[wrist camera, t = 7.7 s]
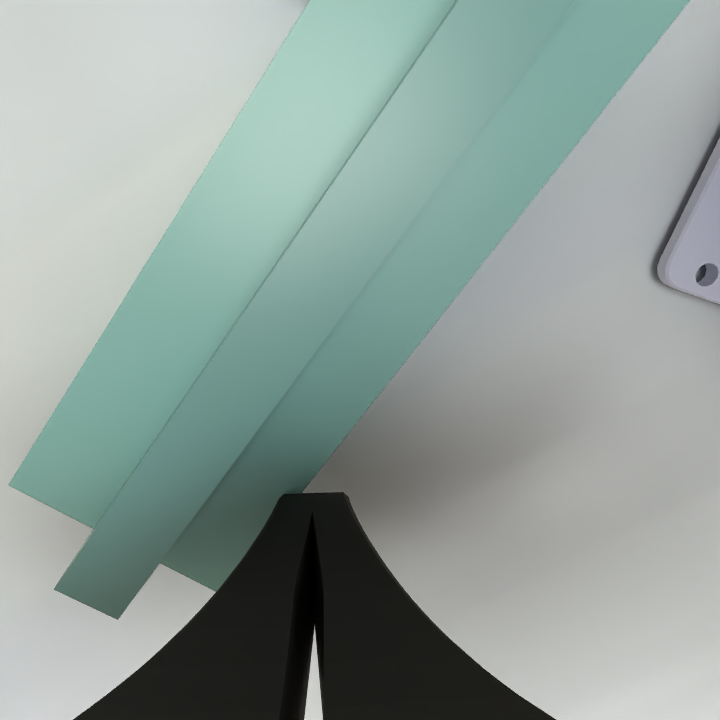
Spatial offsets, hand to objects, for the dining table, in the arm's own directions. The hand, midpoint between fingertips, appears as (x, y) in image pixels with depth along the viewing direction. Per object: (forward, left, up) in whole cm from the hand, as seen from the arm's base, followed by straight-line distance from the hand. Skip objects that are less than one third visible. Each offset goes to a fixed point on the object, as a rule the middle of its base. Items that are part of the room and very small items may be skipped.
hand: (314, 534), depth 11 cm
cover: (+1, -6, -1) cm, 7 cm away
